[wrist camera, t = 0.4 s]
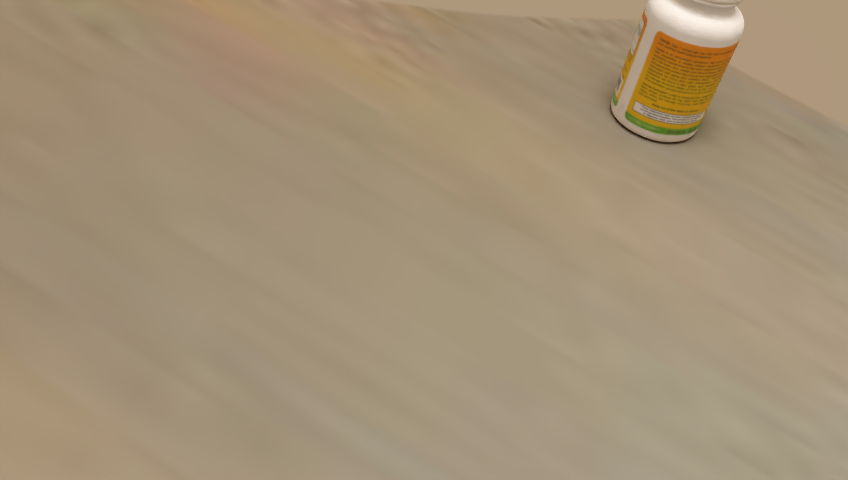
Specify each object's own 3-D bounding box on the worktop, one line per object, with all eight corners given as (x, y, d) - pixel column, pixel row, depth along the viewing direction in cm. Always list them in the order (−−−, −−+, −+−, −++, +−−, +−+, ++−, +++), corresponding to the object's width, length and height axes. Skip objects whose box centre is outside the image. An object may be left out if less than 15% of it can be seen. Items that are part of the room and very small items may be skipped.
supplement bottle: (713, 140, 48) (789, -12, 41) (638, 149, 46) (704, -9, 39) (665, 90, 51) (727, -58, 45) (593, 96, 49) (646, -58, 43)
